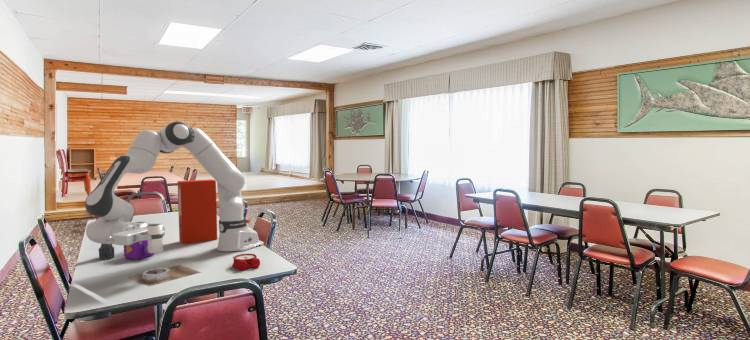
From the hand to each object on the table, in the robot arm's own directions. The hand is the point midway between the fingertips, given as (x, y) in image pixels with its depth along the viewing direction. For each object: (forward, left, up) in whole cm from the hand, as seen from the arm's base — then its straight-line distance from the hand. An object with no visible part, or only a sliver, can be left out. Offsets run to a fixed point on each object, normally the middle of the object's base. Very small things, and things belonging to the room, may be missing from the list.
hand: (157, 235), depth 156 cm
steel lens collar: (0, -1, -16) cm, 16 cm away
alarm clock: (-31, +11, -18) cm, 37 cm away
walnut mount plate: (-4, -2, -17) cm, 18 cm away
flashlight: (-2, -53, -17) cm, 56 cm away
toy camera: (-12, -40, -17) cm, 45 cm away
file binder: (-45, -50, -17) cm, 69 cm away
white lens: (0, -1, -6) cm, 6 cm away
